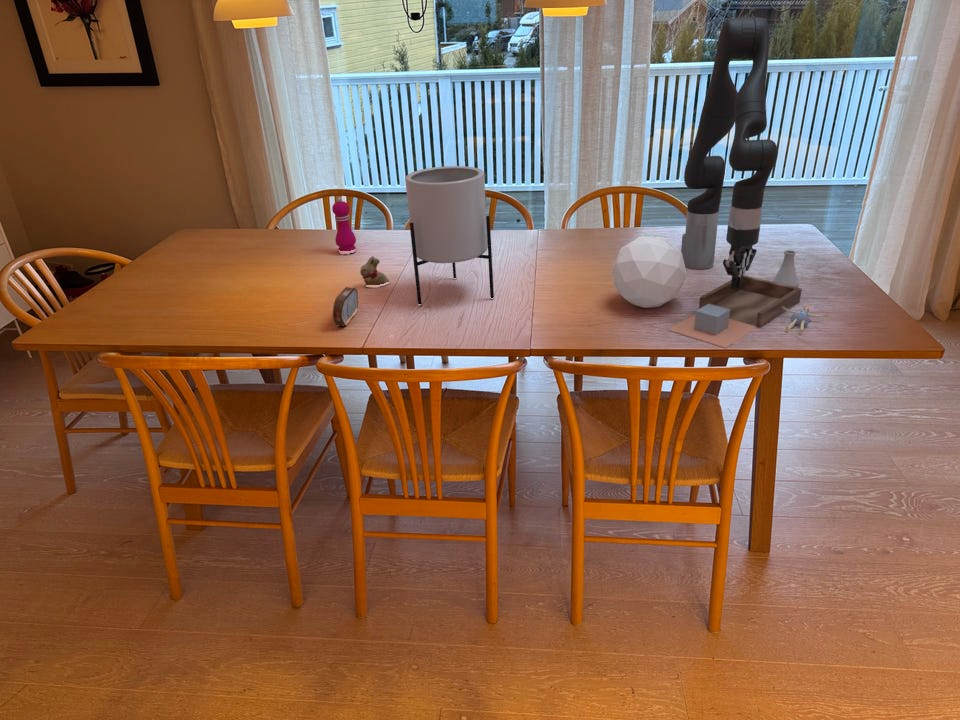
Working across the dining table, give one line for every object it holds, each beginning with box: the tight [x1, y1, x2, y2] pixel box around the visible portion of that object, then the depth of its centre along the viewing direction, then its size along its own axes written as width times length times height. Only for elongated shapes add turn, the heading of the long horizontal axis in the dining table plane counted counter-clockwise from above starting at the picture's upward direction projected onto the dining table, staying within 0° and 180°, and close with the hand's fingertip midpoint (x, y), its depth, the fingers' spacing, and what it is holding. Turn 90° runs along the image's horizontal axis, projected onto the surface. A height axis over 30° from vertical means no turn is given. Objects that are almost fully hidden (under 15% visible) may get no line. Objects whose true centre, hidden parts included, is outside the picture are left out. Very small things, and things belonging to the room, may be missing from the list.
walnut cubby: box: [698, 274, 803, 328], centre depth 185 cm, size 17×22×4 cm
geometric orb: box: [612, 235, 688, 309], centre depth 187 cm, size 19×20×20 cm
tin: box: [332, 286, 359, 326], centre depth 192 cm, size 15×3×8 cm, turn 171°
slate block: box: [694, 304, 730, 335], centre depth 174 cm, size 6×6×5 cm
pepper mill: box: [331, 196, 357, 251], centre depth 244 cm, size 7×7×20 cm
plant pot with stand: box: [404, 165, 495, 305], centre depth 198 cm, size 24×24×36 cm
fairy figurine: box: [782, 306, 830, 336], centre depth 173 cm, size 12×5×12 cm
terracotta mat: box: [668, 314, 758, 349], centre depth 175 cm, size 16×16×1 cm
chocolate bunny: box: [359, 255, 390, 285], centre depth 215 cm, size 6×8×10 cm
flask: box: [772, 249, 800, 288], centre depth 196 cm, size 7×7×10 cm
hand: (735, 288), depth 178 cm, fingers closed
